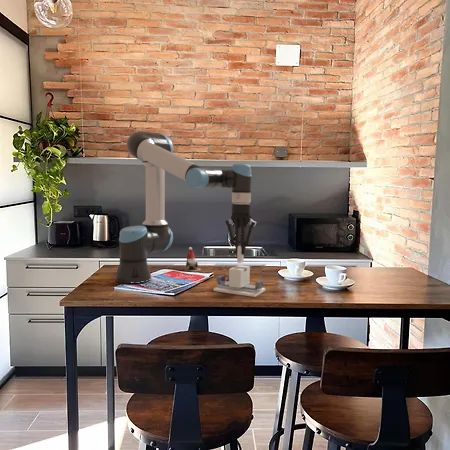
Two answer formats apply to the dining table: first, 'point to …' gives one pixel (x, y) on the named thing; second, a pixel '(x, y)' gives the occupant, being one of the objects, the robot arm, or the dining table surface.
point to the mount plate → (239, 291)
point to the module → (239, 276)
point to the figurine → (192, 261)
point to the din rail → (248, 287)
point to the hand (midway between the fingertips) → (240, 262)
